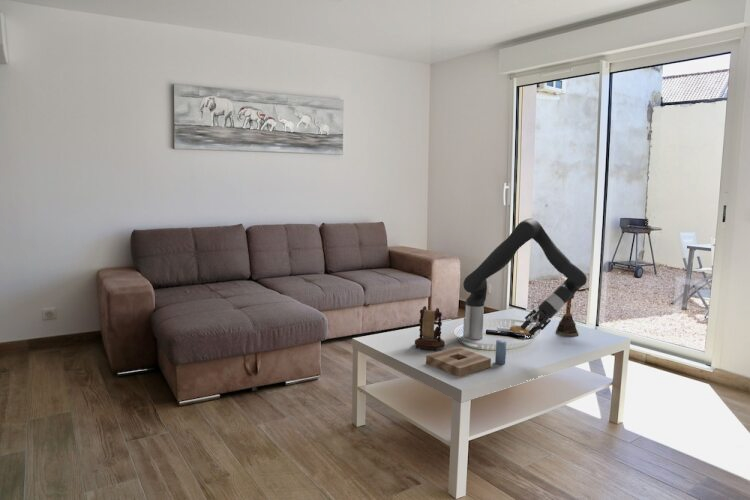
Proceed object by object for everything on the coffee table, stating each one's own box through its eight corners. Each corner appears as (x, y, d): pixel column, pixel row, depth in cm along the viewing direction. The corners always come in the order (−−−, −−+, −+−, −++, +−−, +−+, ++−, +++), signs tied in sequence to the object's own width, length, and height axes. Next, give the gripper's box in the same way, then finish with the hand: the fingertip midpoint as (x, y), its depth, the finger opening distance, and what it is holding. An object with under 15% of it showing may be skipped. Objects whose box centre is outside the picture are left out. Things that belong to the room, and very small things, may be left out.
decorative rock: (502, 332, 283) (519, 341, 269) (502, 325, 282) (519, 334, 268) (520, 329, 287) (537, 338, 273) (520, 322, 286) (537, 331, 272)
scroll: (409, 348, 252) (410, 308, 249) (421, 340, 265) (422, 302, 262) (438, 353, 245) (439, 312, 243) (449, 345, 258) (450, 305, 256)
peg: (493, 362, 235) (494, 341, 233) (499, 360, 237) (500, 339, 236) (501, 365, 231) (502, 343, 230) (507, 363, 234) (508, 341, 233)
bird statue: (592, 336, 276) (597, 271, 271) (576, 340, 269) (580, 273, 265) (567, 328, 290) (571, 267, 285) (551, 331, 284) (555, 268, 279)
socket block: (425, 363, 232) (426, 355, 231) (456, 354, 244) (457, 346, 244) (459, 377, 216) (459, 368, 216) (490, 367, 229) (490, 358, 228)
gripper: (538, 296, 240) (514, 321, 240) (553, 303, 227) (527, 330, 226) (549, 307, 242) (524, 332, 242) (564, 315, 228) (538, 341, 228)
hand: (525, 331), depth 234 cm, fingers open, 8 cm apart
